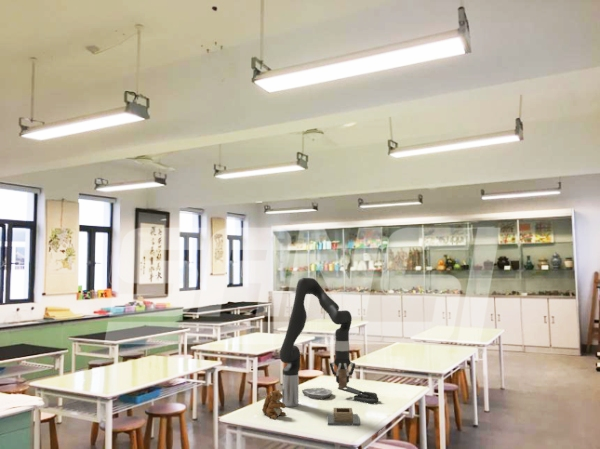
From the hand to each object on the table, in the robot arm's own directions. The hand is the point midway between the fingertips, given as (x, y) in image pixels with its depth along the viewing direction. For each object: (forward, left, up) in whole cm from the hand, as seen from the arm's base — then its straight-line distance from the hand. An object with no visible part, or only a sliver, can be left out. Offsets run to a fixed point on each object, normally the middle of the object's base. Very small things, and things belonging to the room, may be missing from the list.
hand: (342, 382), depth 247 cm
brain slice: (-13, +51, -19) cm, 56 cm away
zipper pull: (+11, +42, -19) cm, 47 cm away
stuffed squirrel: (-37, +8, -19) cm, 43 cm away
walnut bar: (0, 0, -2) cm, 2 cm away
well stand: (0, 0, -19) cm, 19 cm away
